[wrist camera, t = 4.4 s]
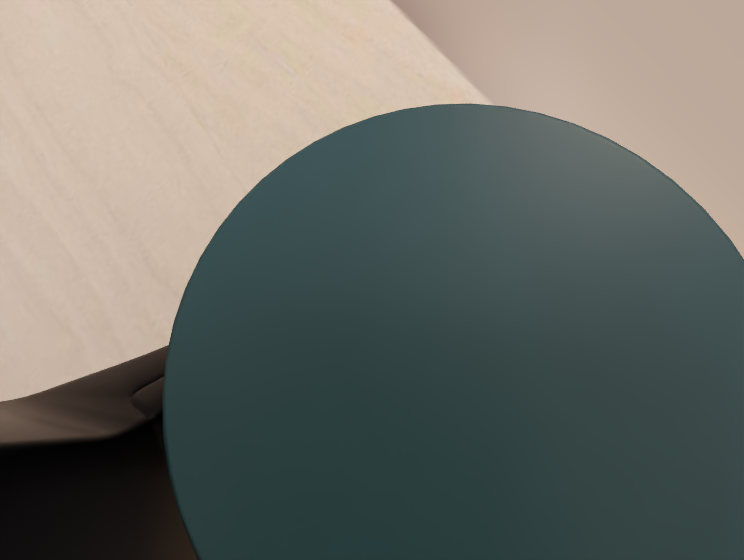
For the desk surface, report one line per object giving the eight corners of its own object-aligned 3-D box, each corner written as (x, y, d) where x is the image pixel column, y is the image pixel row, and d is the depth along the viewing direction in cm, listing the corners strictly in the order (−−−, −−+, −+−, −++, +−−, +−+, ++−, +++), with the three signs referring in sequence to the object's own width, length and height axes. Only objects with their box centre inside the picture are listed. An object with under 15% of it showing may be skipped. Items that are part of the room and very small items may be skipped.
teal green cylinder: (538, 405, 14) (992, 432, 3) (422, 499, 14) (387, 974, 2) (443, 293, 16) (479, 16, 4) (337, 375, 15) (73, 308, 4)
